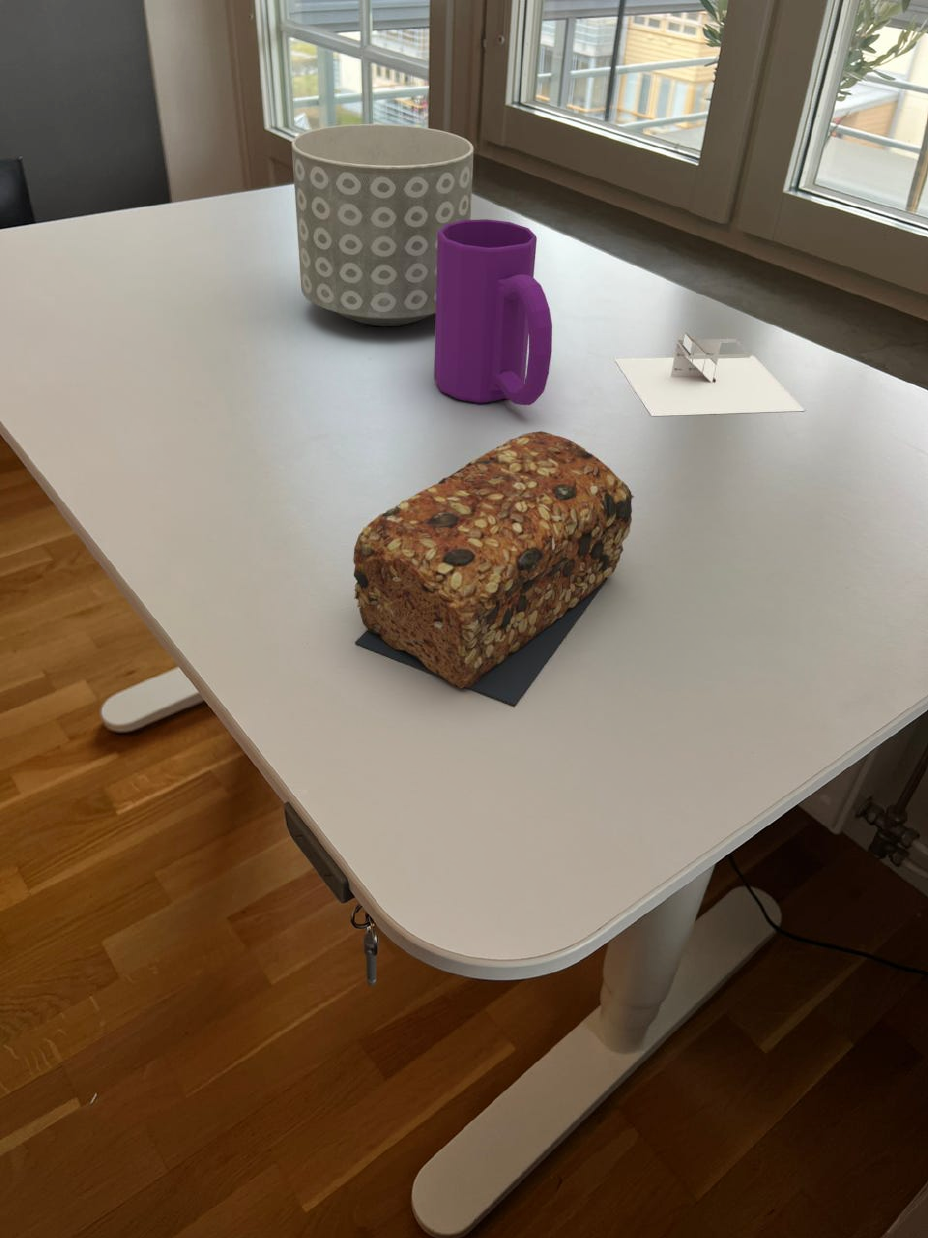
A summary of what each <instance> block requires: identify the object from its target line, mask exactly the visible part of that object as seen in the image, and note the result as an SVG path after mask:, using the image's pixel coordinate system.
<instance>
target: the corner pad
mask: <svg viewBox="0 0 928 1238" xmlns="http://www.w3.org/2000/svg"><path fill="white" fill-rule="evenodd" d="M608 580H609V576H607V577H606V578H605V580H604V581H603V582H602V583H601V584H600V585H599V586H598V587H597V588H596V589H594V590H593V591H592V592H591V593H590V594H589V595H588V596H587V597H586V598H584V599H583V600H581V601H580V602H579V603H578V604H577V605H575V606H574V607H572V608H568V609H567V611H566V612H565V613H564V615H563V616H562V617H560V618H558V619H556V620H555V621H554V622H553V623H552V624H551V625H550V626H548V627H546V628H545V629H544V630H543V631H542V632H540V633H538V634H537V635H535V637H534V638H533V639H530V640H529V641H528V642H527V643H526V644H525V646H524V647H522V648H520V649H519V650H517V651H515V652H513V653H512V654H508V656H507V658H506V659H505V660H504V661H503V662H502V663H500V664H497V665H496V666H494V667H493V668H492V669H490V670H489V671H488V672H486V673H485V674H483V675H482V677H481V678H480V679H479V680H478V681H477V682H475V683H474V684H473V685H472V686H470V687H464V688H466V689H468V690H470V691H473V692H476V693H478V694H481V695H483V696H486V697H488V698H491V699H494V700H496V701H499V702H501V703H503V704H506V705H509V706H511V707H516V706H517V704H518V703H519V701H520V700H521V699H522V697H523V696H524V695H525V693H526V692H527V691H528V690H529V688H530V686H531V685H532V684H533V682H534V681H535V680H536V678H537V676H538V675H539V674H540V673H541V672H542V670H543V668H544V667H545V666H546V665H547V663H548V662H549V661H550V659H551V657H552V656H553V655H554V653H555V652H556V651H557V650H558V648H559V647H560V645H561V644H562V642H563V641H564V640H565V638H566V637H567V636H568V634H569V633H570V632H571V630H572V628H574V626H575V625H576V623H577V622H578V620H579V619H580V618H581V616H582V615H583V614H584V612H585V611H586V610H587V608H589V605H590V604H591V603H592V602H593V600H594V599H595V597H596V596H597V595H598V593H599V592H600V590H601V589H602V588H603V586H604V585H605V584H606V582H607V581H608ZM354 644H355V645H356V646H359V647H361V648H364V649H367V650H369V651H371V652H373V653H377V654H379V655H382V656H384V657H387V658H389V659H392V660H395V661H397V662H399V663H402V664H405V665H407V666H409V667H412V668H414V669H418V670H420V671H422V672H425V673H428V674H429V675H432V676H435V677H438V678H440V679H443V680H446V679H445V678H444V677H443V676H441V675H438V674H436V673H434V672H432V671H431V670H429V669H428V668H427V667H426V666H425V665H424V664H423V662H422V661H421V660H420V659H418V658H417V657H415V656H414V655H411V654H410V653H408V652H407V651H405V650H398V649H395V648H392V647H390V646H389V645H388V644H387V643H386V642H385V641H384V640H383V639H382V638H381V636H380V634H377V633H372V632H370V631H369V630H368V629H366V630H365V631H364V632H363V633H362V634H361V635H360V636H359V637H358V638H357V640H355V641H354ZM446 681H447V680H446Z"/></svg>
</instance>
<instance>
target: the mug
mask: <svg viewBox="0 0 928 1238" xmlns="http://www.w3.org/2000/svg"><path fill="white" fill-rule="evenodd" d="M537 239H538V237H537V235H536V234H535V233H534V232H533V231H532V230H531V229H530V228H529V227H525V226H522V225H521V224H517V223H513V222H510V221H505V220H496V219H489V218H486V219H485V218H484V219H482V218H481V219H471V220H463V221H459V222H455V223H451V224H447V225H445V226H444V227H443V228H442V229H441V230H440V231H439V232H438V234H437V276H436V313H435V319H434V320H435V323H434V325H435V327H434V328H435V329H434V369H433V376H434V377H433V379H434V381H435V382H436V385H437V387H438V389H439V390H440V391H441V392H442V393H444V394H447V395H449V396H450V397H453V398H455V399H456V400H458V401H464V402H470V403H476V404H484V403H485V404H487V403H491V402H495V401H499V400H504V399H508V400H509V401H511V403H513V404H514V405H522V406H531V405H532V404H534V403H535V402H537V400H538V399H539V398H540V397H542V394H544V392H545V390H546V386H547V382H548V378H549V375H550V368H551V361H552V360H551V359H552V350H553V349H552V347H553V346H552V345H553V323H552V314H551V308H550V305H549V302H548V299H547V297H546V293H545V291H544V289H543V287H542V285H541V283H540V282H539V281H537V280H536V278H535V277H534V276H535V266H536V265H535V263H536V253H537V243H538V242H537V241H538V240H537Z"/></svg>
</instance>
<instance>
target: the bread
mask: <svg viewBox="0 0 928 1238" xmlns="http://www.w3.org/2000/svg"><path fill="white" fill-rule="evenodd" d="M634 498H635V496H634V495H633V494H632V491H631V489H630V488H629V486H628V484H626V482H625V481H623V480H622V479H620V478H619V477H618V476H617V475H616V474H615V472H613V471H612V469H611V468H610V467H609V466H607V465H606V464H605V463H604V462H603V461H601V460H600V459H599V458H598V457H596V456H595V455H594V454H593V453H591V452H588V451H586V448H584V447H583V446H581V445H579V443H576V442H575V441H572V440H571V439H568V438H565V437H563V436H560V435H555V434H552V433H549V432H547V431H546V432H545V431H541V430H540V431H532V432H527V433H523V434H521V435H519V436H517V437H515V438H510V439H507V441H506V442H505V443H503V444H500V445H497V446H496V447H495V448H493V449H491V450H490V451H488V452H485V453H484V454H482V455H480V456H478V457H477V458H476V459H473V460H471V461H469V462H468V463H467V464H465V465H462V467H461V468H460V469H458V470H457V471H455V472H454V473H452V474H451V475H449V476H445V477H443V478H441V479H440V480H439V481H438V482H437V483H436V484H433V485H432V486H429V487H427V488H425V489H423V490H421V491H419V492H418V493H415V494H414V495H412V496H410V497H409V498H408V499H404V500H402V501H400V503H399V504H396V505H395V506H394V507H392V508H389V509H388V510H386V511H385V512H383V513H380V514H379V515H378V516H377V517H376V518H374V519H373V520H372V521H370V523H368V524H367V525H366V526H365V527H363V528H362V531H361V532H360V533H359V534H358V536H357V539H356V542H355V544H354V548H353V558H352V562H353V564H354V569H353V570H354V571H353V577H354V579H355V580H356V583H355V584H354V595H353V596H354V599H355V600H356V601H357V600H358V602H357V608H359V609H358V611H359V614H360V618H361V621H362V624H363V625H364V626H365V628H366V630H369V631H370V632H372V633H377V634H380V636H381V638H382V639H383V640H384V641H385V642H386V643H387V644H388V645H389V646H390V647H392V648H395V649H398V650H405V651H407V652H408V653H410V654H411V655H414V656H415V657H417V658H418V659H420V660H421V661H422V662H423V664H424V665H425V666H426V667H427V668H428V669H429V670H431V671H432V672H434V673H436V674H438V675H441V676H443V677H444V678H445V679H446V681H447V682H449V684H451V685H452V686H453V685H454V686H455V685H456V686H457V687H458V688H460V689H463V688H465V687H470V686H472V685H473V684H474V683H475V682H477V681H478V680H479V679H480V678H481V677H482V675H483V674H485V673H486V672H488V671H489V670H490V669H492V668H493V667H494V666H496V665H497V664H500V663H502V662H503V661H504V660H505V659H506V658H507V656H508V654H512V653H513V652H515V651H517V650H519V649H520V648H522V647H524V646H525V644H526V643H527V642H528V641H529V640H530V639H533V638H534V637H535V635H537V634H538V633H540V632H542V631H543V630H544V629H545V628H546V627H548V626H550V625H551V624H552V623H553V622H554V621H555V620H556V619H558V618H560V617H562V616H563V615H564V613H565V612H566V611H567V609H568V608H572V607H574V606H575V605H577V604H578V603H579V602H580V601H581V600H583V599H584V598H586V597H587V596H588V595H589V594H590V593H591V592H592V591H593V590H594V589H596V588H597V587H598V586H599V585H600V584H601V583H602V582H603V581H604V580H605V578H606V577H610V576H611V575H612V574H613V573H614V572H615V570H616V568H617V565H618V564H619V562H620V561H621V555H622V553H623V552H624V546H623V543H624V541H625V540H626V539H627V538H628V536H629V534H630V533H631V525H632V523H633V522H632V521H633V518H632V517H633V516H632V514H633V507H632V500H633V499H634ZM445 679H444V680H445Z"/></svg>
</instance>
